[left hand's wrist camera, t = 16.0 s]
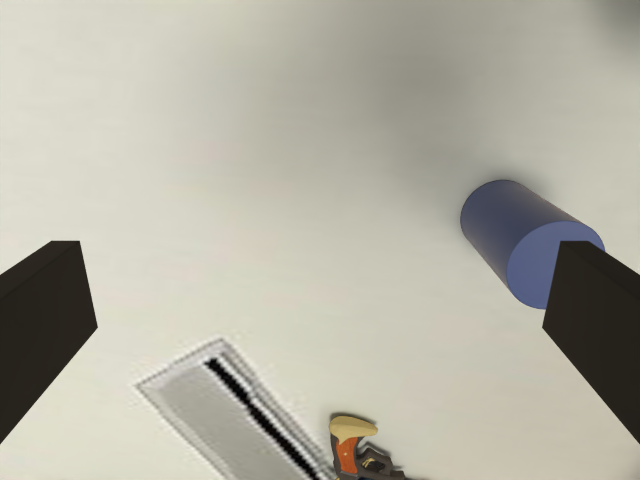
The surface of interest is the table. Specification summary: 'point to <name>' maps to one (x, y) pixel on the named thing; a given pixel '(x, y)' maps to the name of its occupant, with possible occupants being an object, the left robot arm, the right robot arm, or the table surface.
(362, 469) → the toy gun
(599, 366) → the left robot arm
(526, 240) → the canister
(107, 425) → the table surface
